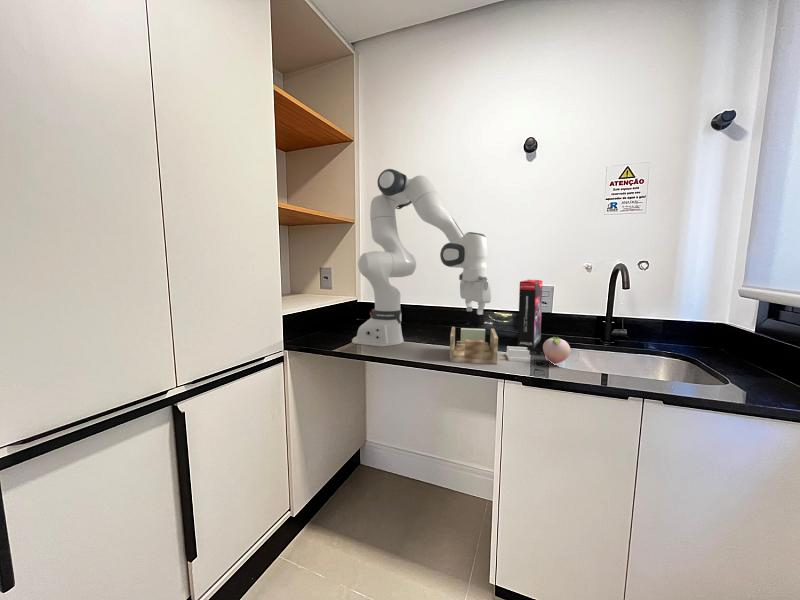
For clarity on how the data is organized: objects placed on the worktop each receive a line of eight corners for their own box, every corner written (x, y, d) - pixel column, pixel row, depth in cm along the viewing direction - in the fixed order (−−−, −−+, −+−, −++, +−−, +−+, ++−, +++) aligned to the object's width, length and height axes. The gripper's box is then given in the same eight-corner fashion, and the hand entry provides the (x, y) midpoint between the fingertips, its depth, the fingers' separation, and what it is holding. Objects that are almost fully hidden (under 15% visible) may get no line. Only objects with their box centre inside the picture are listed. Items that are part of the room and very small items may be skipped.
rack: (449, 361, 115) (450, 335, 114) (451, 349, 131) (452, 326, 130) (497, 364, 112) (498, 337, 111) (493, 351, 128) (494, 328, 127)
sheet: (460, 349, 126) (460, 329, 125) (460, 348, 128) (461, 328, 127) (484, 351, 124) (485, 330, 123) (484, 349, 127) (484, 329, 126)
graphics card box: (533, 349, 131) (537, 281, 128) (515, 347, 135) (519, 281, 132) (540, 341, 146) (544, 279, 143) (524, 339, 150) (527, 279, 146)
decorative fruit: (573, 368, 108) (575, 339, 107) (546, 367, 109) (548, 337, 108) (564, 360, 117) (566, 333, 116) (539, 359, 119) (541, 332, 118)
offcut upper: (466, 350, 114) (466, 341, 114) (465, 347, 118) (465, 339, 117) (483, 350, 114) (484, 342, 113) (482, 348, 117) (482, 339, 117)
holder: (508, 360, 116) (509, 350, 116) (506, 354, 124) (506, 345, 124) (529, 362, 115) (530, 352, 115) (525, 355, 123) (526, 346, 122)
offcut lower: (464, 358, 115) (464, 349, 115) (464, 355, 118) (464, 347, 118) (481, 359, 114) (482, 350, 114) (481, 356, 117) (481, 348, 117)
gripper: (496, 276, 114) (495, 316, 115) (472, 275, 134) (471, 309, 135) (479, 276, 112) (478, 317, 114) (457, 275, 132) (456, 309, 134)
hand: (474, 312), depth 125 cm, fingers open, 8 cm apart
